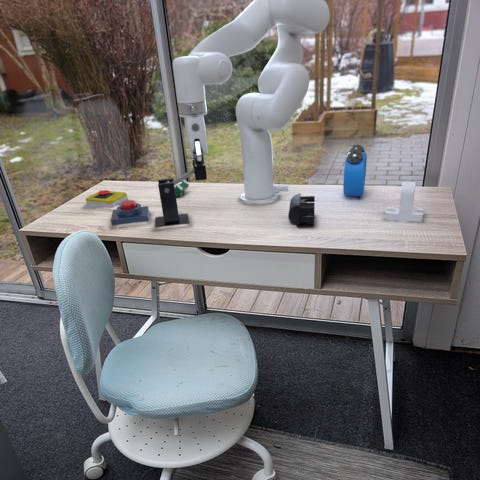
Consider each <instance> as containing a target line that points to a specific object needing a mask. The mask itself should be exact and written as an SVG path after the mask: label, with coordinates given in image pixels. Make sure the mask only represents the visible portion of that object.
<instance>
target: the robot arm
mask: <svg viewBox="0 0 480 480" xmlns="http://www.w3.org/2000/svg"><path fill="white" fill-rule="evenodd" d="M330 17H331V13H330V7H329V5H328V3H327V2H326V1H325V0H252V1H251V2H250V3H249V4H248V5H247V6H246V7H245V8H244V10H242V11H241V12H240V13H239V14H238V15H237V16H236V17H235V18H234V19H233V20H232V21H230V22H229V23H227V24H225V25H223V26H222V27H221V28H219V29H217V30H215V31H214V32H212V33H211V34H208V36H206V37H205V38H203V39H202V40H201V41H200V42H199V43H198V44H197V45H196V46H195V47H194V48H193V49H192V50H191V51H190V52H189V53H188V55H184V56H183V55H182V56H178V57H175V58H174V59H173V61H172V71H173V73H172V74H173V79H174V86H175V94H176V102H177V109H178V116H179V118H183V120H184V128H185V135H186V141H187V146H188V148H189V153H190V155H191V156H192V159H191V160H192V161H191V162H192V166H193V167H192V169H193V168H194V172H195V173H194V174H193V175H194V178H195V181H206V180H207V179H208V176H207V168H206V164H205V157H204V155H208V154H209V146H208V139H207V130H206V123H205V117H204V116H206V115H207V114H208V109H207V100H206V88H205V87H206V86H207V85H222V84H224V83H226V82H227V81H229V79H230V78H231V76H232V73H233V63H232V61H231V59H230V58H231V57H234V56H238V55H241V54H244V53H246V52H248V51H251V50H253V49H254V48H255V47H256V46H257V45H259V44H260V43H261V41H262V40H264V39H265V37H266V36H267V35H268V34H269V33H270V32H271V31H272V30H273V29H274V28H275V27H276V29H277V46H276V48H275V51H274V52H273V54H272V56H271V57H270V58H269V60H268V62H267V64H266V65H265V66H264V68H263V70H262V71H261V73H260V75H259V77H258V79H257V88H258V91H259V92H249V93H245V94H243V95H242V96H241V97H240V98H239V99H238V101H237V103H236V105H235V116H236V122H237V125H238V129H239V135H240V144H241V158H242V173H243V189H244V192H242V193H241V194H240V196H239V198H240V200H242V201H243V202H246V203H264V202H271V201H273V200H276V199H279V197H280V195H279V194H280V193H281V192H288V191H289V185H288V184H283V183H280V184H276V183H275V182H274V158H273V140H272V136H271V132H270V131H274V132H276V131H281V130H283V129H285V128H286V126H287V125H289V123H290V121H291V120H292V118H293V117H294V116H295V114H296V112H297V111H298V108H300V106H301V104H302V103H303V101H304V99H305V98H306V95H307V93H308V91H309V87H310V74H309V71H308V70H307V68H306V67H305V66H304V65H303V64H302V62H303V58H304V50H303V46H302V41H301V36H300V35H317V34H320V33H322V32H323V31H325V30H326V28H327V27H328V25H329V23H330Z"/></svg>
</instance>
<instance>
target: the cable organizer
mask: <svg viewBox="0 0 480 480" xmlns="http://www.w3.org/2000/svg"><path fill="white" fill-rule="evenodd" d="M416 185H417V182H416V181H402V183H401V188H400V189H401V190H400V197H399V205H398V206H387V207H386V211H385V216H384V220H386V221H399V222H401V221H402V222H414V223H415V222H418V223H422V222H423V219H424V211H425V209H424V208H423V207H414V200H415V194H416Z"/></svg>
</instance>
